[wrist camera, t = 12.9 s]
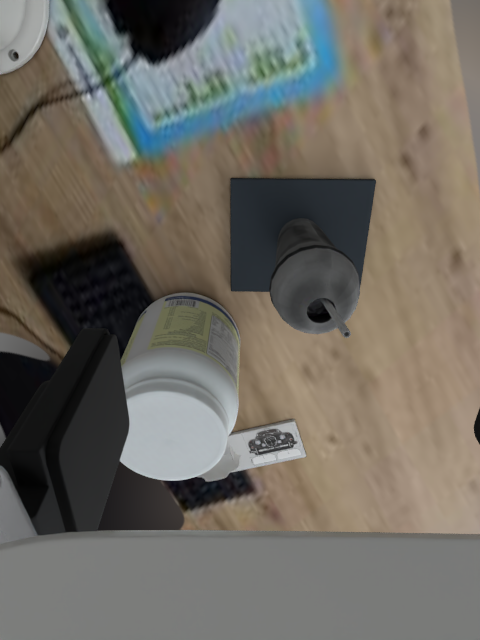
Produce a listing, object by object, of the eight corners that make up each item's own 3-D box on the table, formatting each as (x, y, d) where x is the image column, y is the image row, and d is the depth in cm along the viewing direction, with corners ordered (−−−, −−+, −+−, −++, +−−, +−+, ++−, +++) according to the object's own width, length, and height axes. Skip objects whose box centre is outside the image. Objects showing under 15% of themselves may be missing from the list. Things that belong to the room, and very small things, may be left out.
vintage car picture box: (203, 475, 65) (200, 502, 61) (186, 442, 62) (182, 468, 58) (306, 454, 62) (309, 480, 58) (294, 418, 59) (297, 444, 55)
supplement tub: (181, 392, 57) (157, 506, 43) (114, 324, 53) (62, 425, 38) (261, 346, 54) (266, 453, 39) (197, 268, 49) (176, 356, 34)
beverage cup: (249, 234, 47) (252, 337, 29) (308, 189, 44) (348, 271, 27) (292, 284, 49) (317, 406, 32) (349, 244, 47) (409, 351, 30)
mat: (231, 289, 50) (231, 291, 50) (230, 178, 44) (230, 179, 44) (358, 290, 50) (359, 292, 50) (374, 179, 44) (376, 180, 44)
